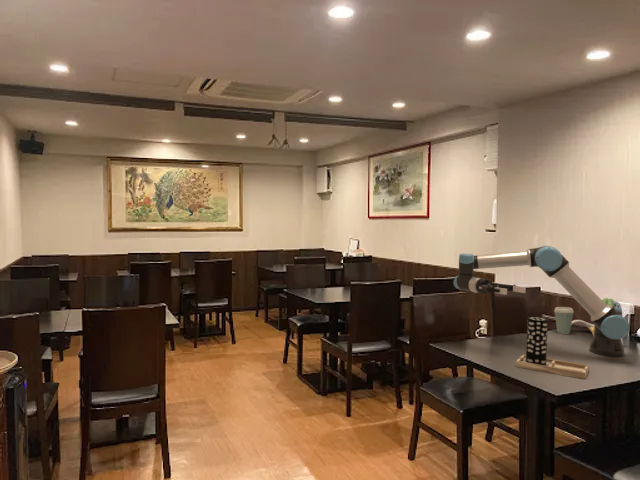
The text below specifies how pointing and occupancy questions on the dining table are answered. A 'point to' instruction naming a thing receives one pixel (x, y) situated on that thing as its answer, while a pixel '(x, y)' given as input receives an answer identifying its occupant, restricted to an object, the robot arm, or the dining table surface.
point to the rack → (556, 367)
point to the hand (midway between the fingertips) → (516, 291)
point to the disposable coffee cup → (563, 319)
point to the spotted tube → (536, 340)
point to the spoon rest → (583, 323)
